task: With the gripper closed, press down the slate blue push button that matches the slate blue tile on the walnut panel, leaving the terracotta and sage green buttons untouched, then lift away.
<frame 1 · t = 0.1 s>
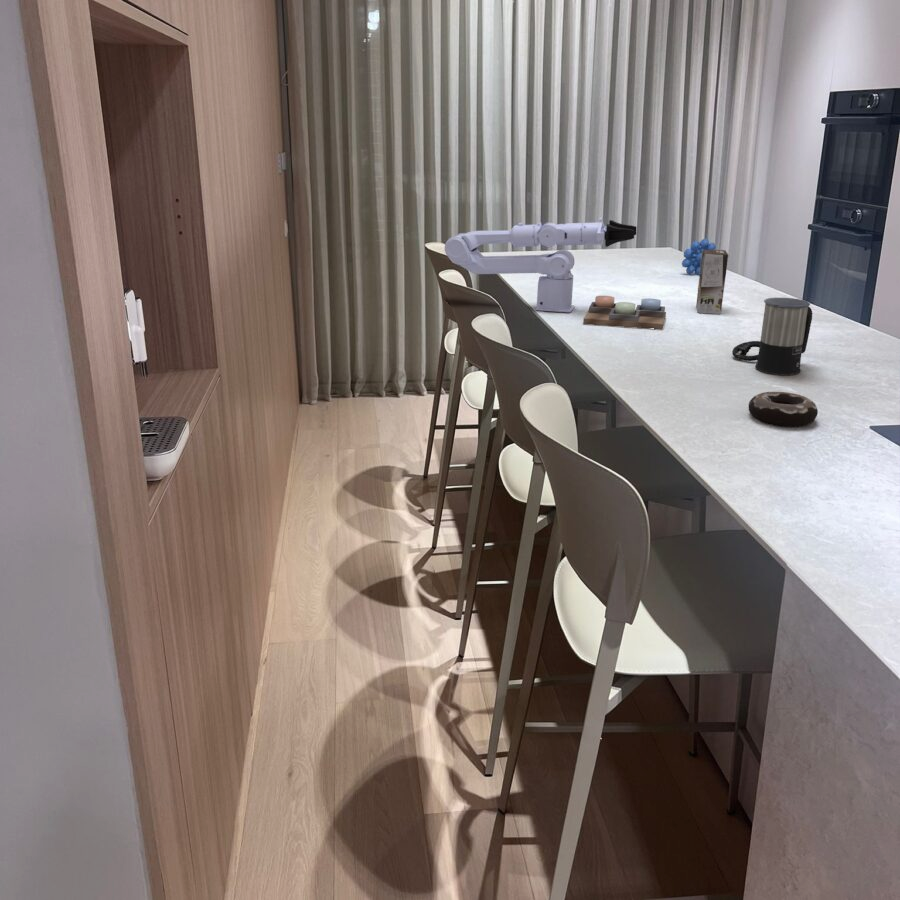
hand: (635, 232, 233), 22 cm above the kitchen island, tool horizontal, fingers open, 7 cm apart
button sage: (625, 308, 229), point 4 cm above the kitchen island, slide at 0.0 cm
button slate: (650, 304, 234), point 4 cm above the kitchen island, slide at 0.0 cm
donut: (780, 420, 161), on the kitchen island
coffee box: (708, 311, 247), on the kitchen island
button terracotta: (604, 301, 237), point 4 cm above the kitchen island, slide at 0.0 cm
grapes: (696, 275, 301), on the kitchen island
milk frother: (764, 366, 194), on the kitchen island
panel: (625, 320, 233), on the kitchen island
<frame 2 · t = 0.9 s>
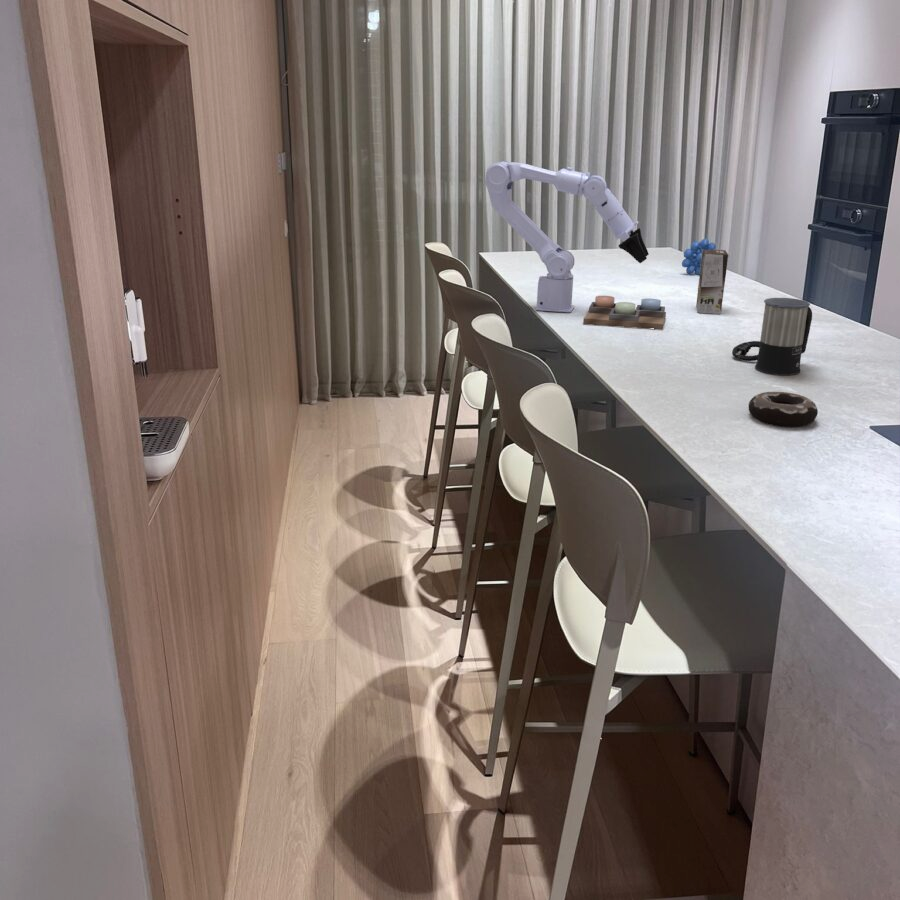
hand: (644, 258, 235), 15 cm above the kitchen island, tool tilted 40°, fingers open, 7 cm apart
nothing on the kitchen island moved.
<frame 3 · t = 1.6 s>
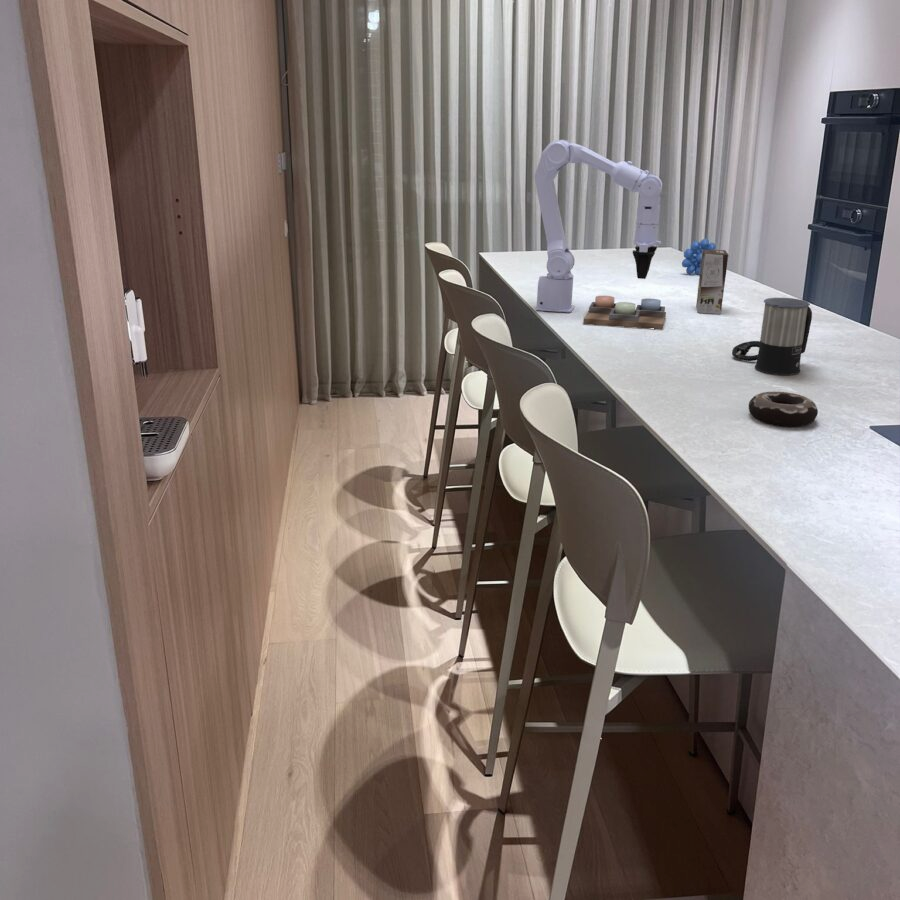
hand: (642, 276, 237), 10 cm above the kitchen island, tool pointing down, fingers open, 7 cm apart
nothing on the kitchen island moved.
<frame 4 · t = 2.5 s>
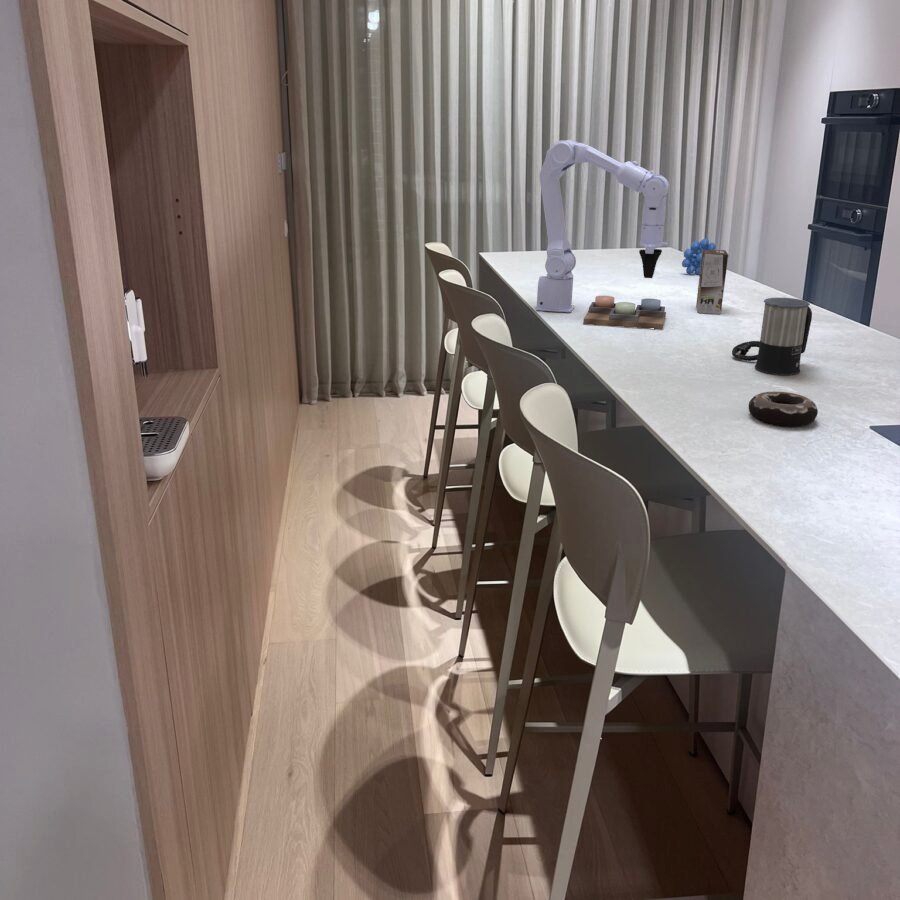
hand: (648, 277, 234), 11 cm above the kitchen island, tool pointing down, fingers closed
nothing on the kitchen island moved.
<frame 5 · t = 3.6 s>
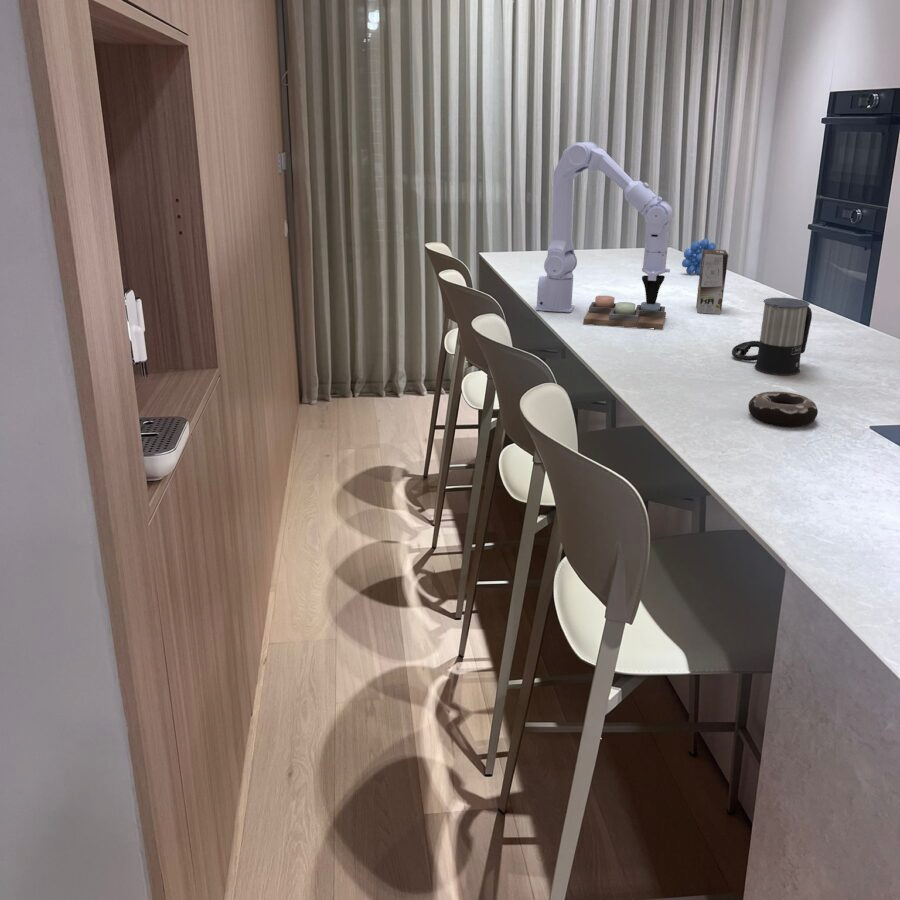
hand: (650, 303, 234), 4 cm above the kitchen island, tool pointing down, fingers closed, pressing on button slate
button slate: (650, 308, 234), point 3 cm above the kitchen island, slide at 0.9 cm, touching gripper
everything else where it was.
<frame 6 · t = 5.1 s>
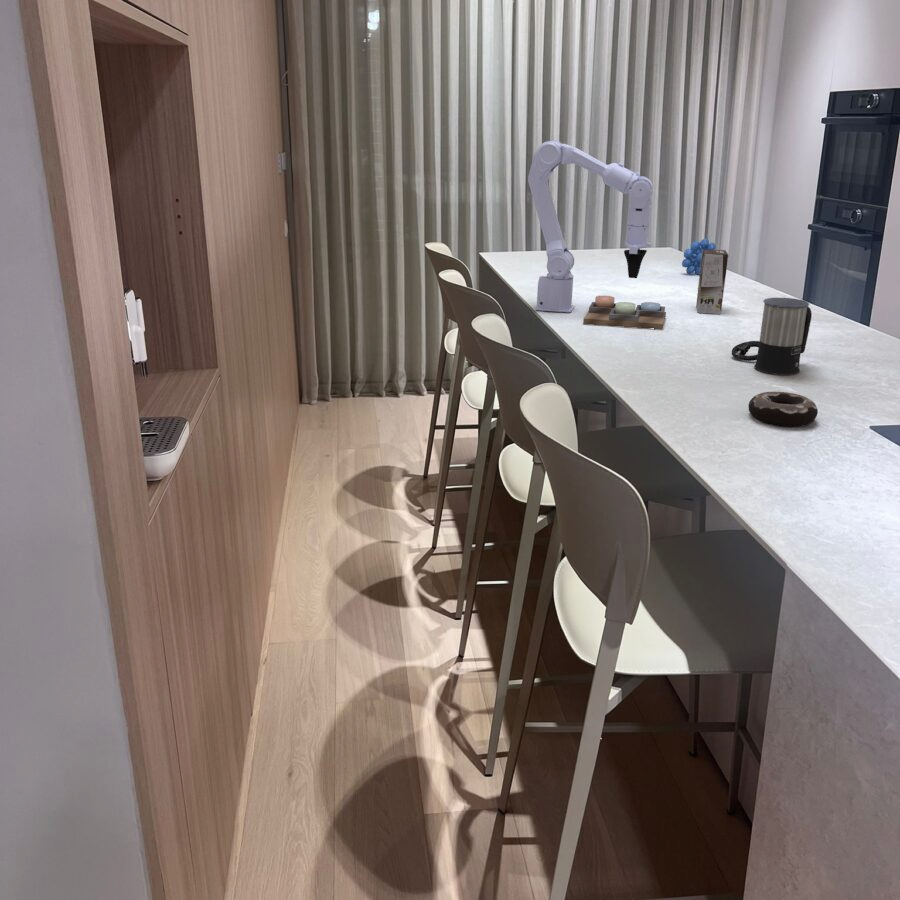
hand: (632, 277, 238), 10 cm above the kitchen island, tool pointing down, fingers closed
button slate: (650, 308, 234), point 3 cm above the kitchen island, slide at 1.0 cm
everything else where it was.
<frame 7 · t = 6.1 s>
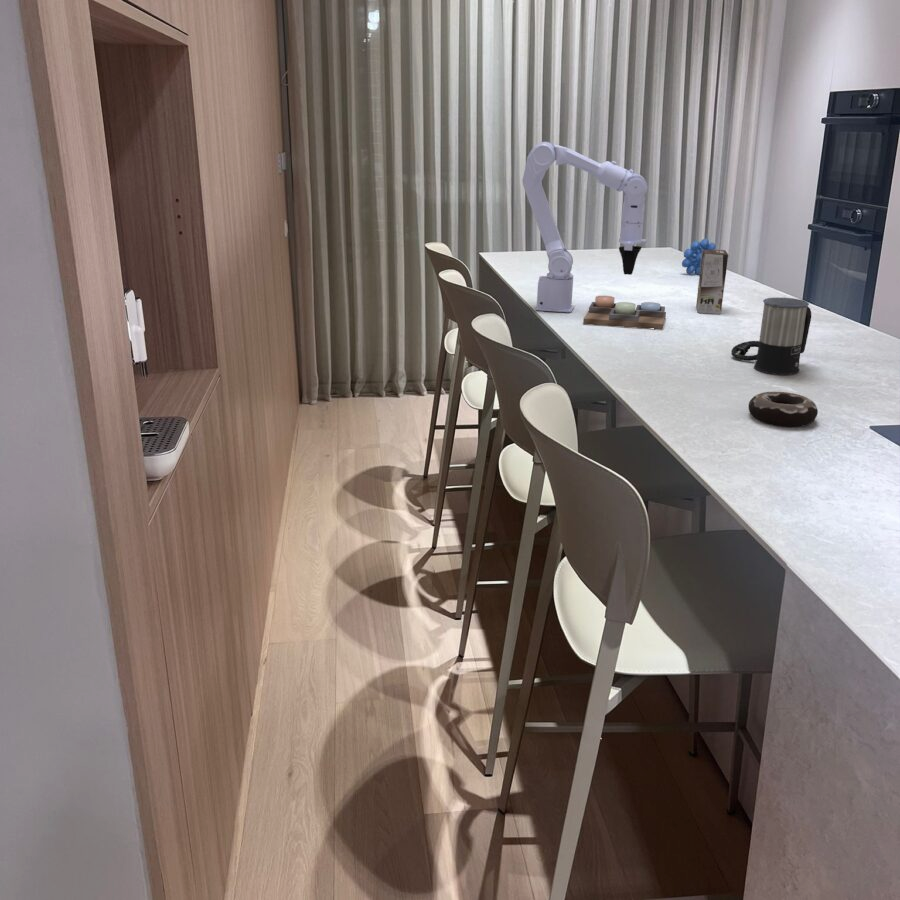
hand: (628, 274, 239), 10 cm above the kitchen island, tool pointing down, fingers closed
nothing on the kitchen island moved.
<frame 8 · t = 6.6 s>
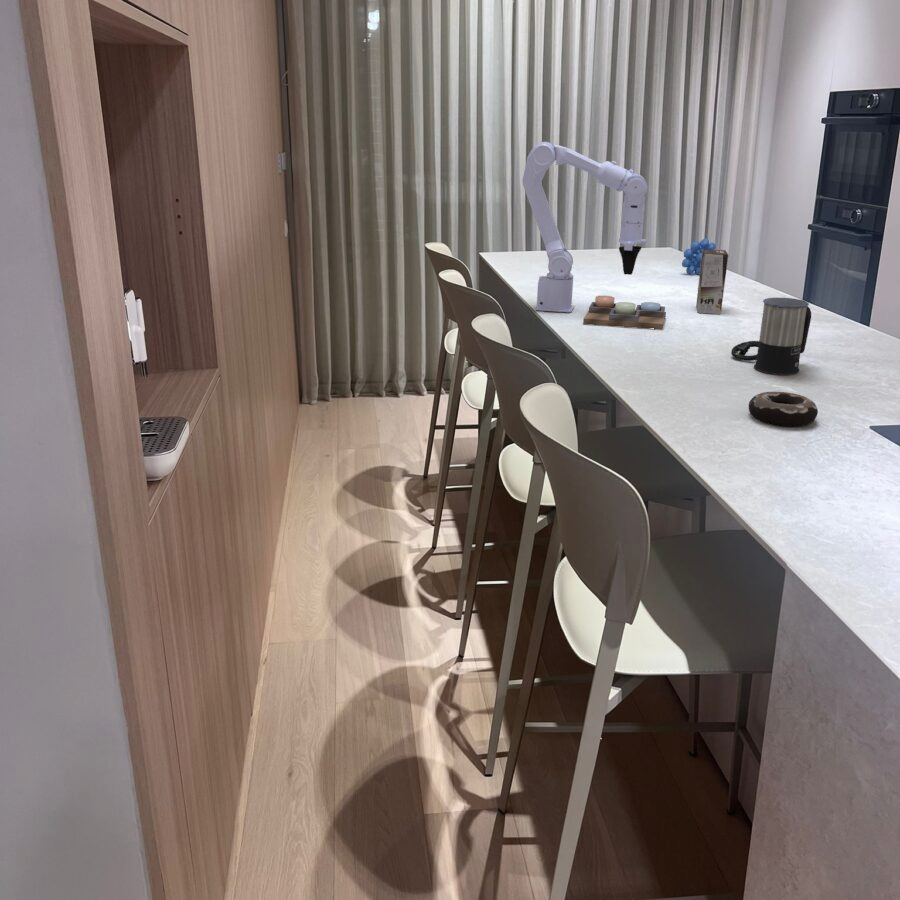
hand: (628, 274, 239), 10 cm above the kitchen island, tool pointing down, fingers closed
nothing on the kitchen island moved.
at the end: button slate slide at 1.0 cm; button terracotta slide at 0.0 cm; button sage slide at 0.0 cm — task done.
